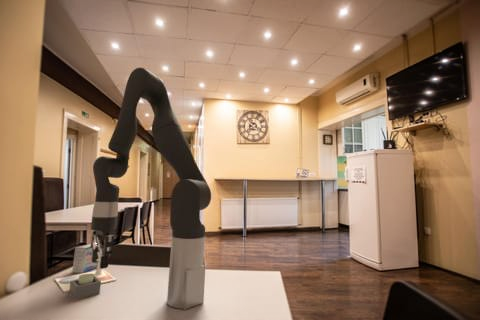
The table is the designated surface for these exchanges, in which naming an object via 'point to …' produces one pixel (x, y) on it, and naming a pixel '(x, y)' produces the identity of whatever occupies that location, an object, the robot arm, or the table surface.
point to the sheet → (65, 281)
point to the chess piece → (99, 269)
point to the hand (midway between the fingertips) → (99, 265)
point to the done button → (85, 279)
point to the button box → (84, 289)
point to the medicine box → (83, 259)
